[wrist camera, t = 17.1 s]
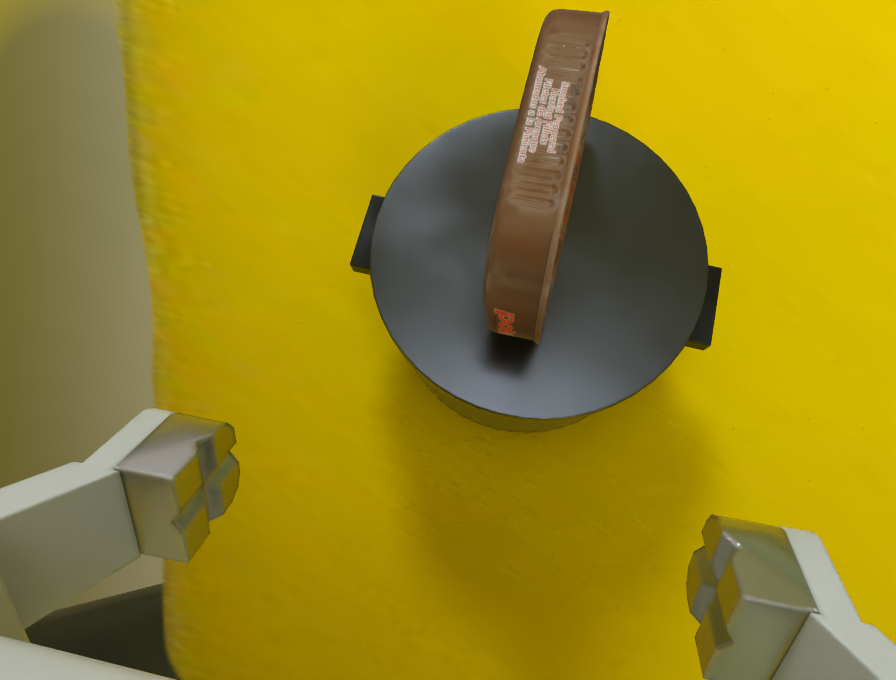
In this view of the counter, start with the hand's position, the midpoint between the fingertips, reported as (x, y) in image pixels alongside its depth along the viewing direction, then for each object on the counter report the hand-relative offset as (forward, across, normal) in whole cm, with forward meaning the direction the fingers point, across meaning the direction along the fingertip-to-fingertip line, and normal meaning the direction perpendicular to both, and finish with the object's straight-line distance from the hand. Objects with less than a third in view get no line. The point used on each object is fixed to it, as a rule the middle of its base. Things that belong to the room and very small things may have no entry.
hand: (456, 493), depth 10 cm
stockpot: (+28, 0, +9) cm, 29 cm away
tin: (+22, 0, +2) cm, 22 cm away
